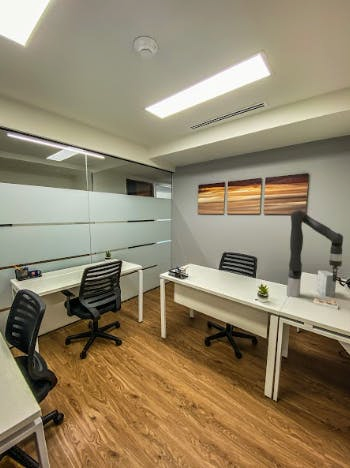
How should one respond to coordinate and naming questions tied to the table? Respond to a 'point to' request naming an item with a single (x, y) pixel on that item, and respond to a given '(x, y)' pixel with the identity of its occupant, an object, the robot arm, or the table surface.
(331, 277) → the hard drive box
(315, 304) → the power strip
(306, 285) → the table surface
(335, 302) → the button
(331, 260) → the robot arm
